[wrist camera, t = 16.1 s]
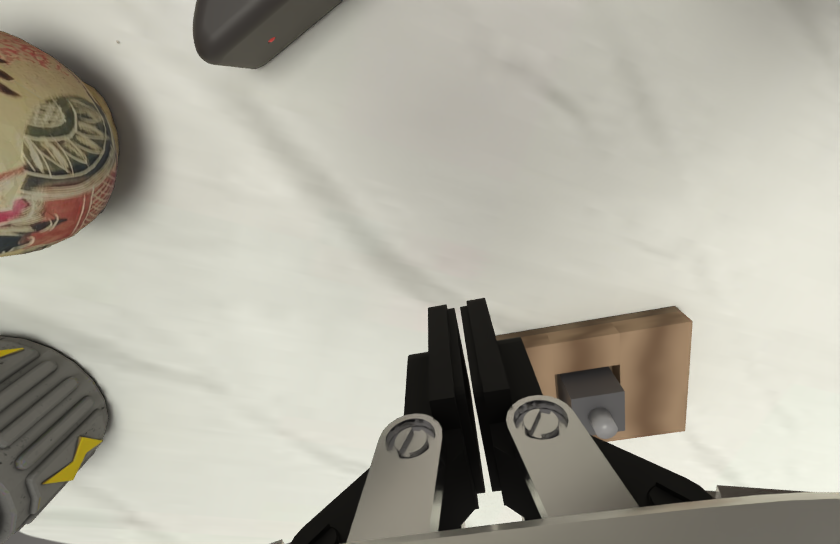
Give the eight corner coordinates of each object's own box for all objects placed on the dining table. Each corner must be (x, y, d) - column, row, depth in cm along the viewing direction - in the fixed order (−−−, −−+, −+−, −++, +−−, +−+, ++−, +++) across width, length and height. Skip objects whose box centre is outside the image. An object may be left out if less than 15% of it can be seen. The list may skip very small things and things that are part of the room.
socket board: (675, 306, 42) (692, 321, 39) (670, 411, 48) (684, 430, 45) (479, 338, 44) (483, 355, 41) (496, 435, 49) (500, 456, 47)
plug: (603, 359, 44) (634, 406, 37) (605, 396, 46) (634, 446, 39) (556, 367, 44) (577, 414, 38) (559, 403, 46) (580, 454, 40)
